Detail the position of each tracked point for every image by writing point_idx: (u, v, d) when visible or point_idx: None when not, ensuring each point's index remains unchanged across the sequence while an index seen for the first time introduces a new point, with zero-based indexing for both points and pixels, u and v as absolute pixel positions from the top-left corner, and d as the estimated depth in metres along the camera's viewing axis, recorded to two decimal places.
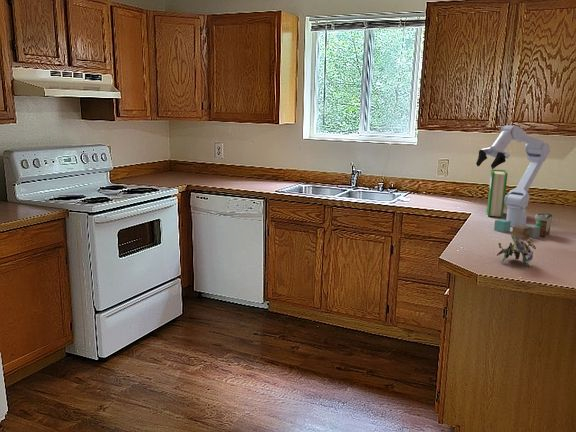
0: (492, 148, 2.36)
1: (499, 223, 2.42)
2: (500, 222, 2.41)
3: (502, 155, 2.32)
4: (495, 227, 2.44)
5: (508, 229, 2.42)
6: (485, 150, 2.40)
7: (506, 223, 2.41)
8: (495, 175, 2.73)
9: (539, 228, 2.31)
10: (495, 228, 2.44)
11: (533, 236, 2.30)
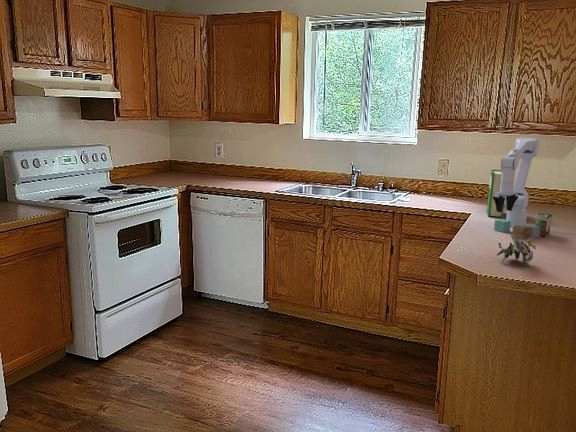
0: None
1: (499, 223, 2.42)
2: (500, 222, 2.41)
3: None
4: (495, 227, 2.44)
5: (508, 229, 2.42)
6: (502, 194, 2.37)
7: (506, 223, 2.41)
8: (495, 175, 2.73)
9: (539, 228, 2.31)
10: (495, 228, 2.44)
11: (533, 236, 2.30)
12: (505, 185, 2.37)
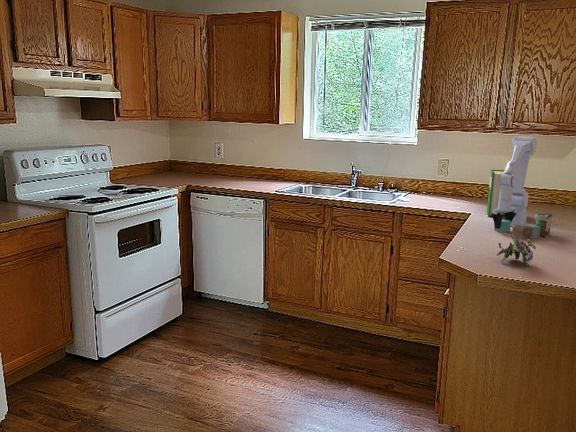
0: None
1: None
2: None
3: None
4: None
5: (508, 229, 2.42)
6: None
7: (506, 223, 2.41)
8: (495, 175, 2.73)
9: (539, 228, 2.31)
10: (495, 228, 2.44)
11: (533, 236, 2.30)
12: (503, 202, 2.39)
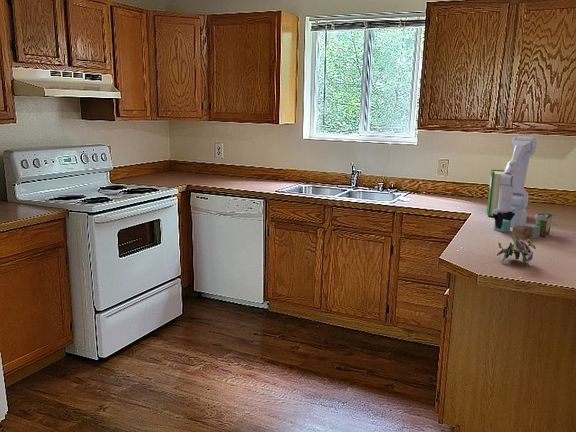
0: None
1: None
2: None
3: None
4: (495, 227, 2.44)
5: (508, 229, 2.42)
6: None
7: (506, 223, 2.41)
8: (495, 175, 2.73)
9: (539, 228, 2.31)
10: (495, 228, 2.44)
11: (533, 236, 2.30)
12: (503, 202, 2.39)
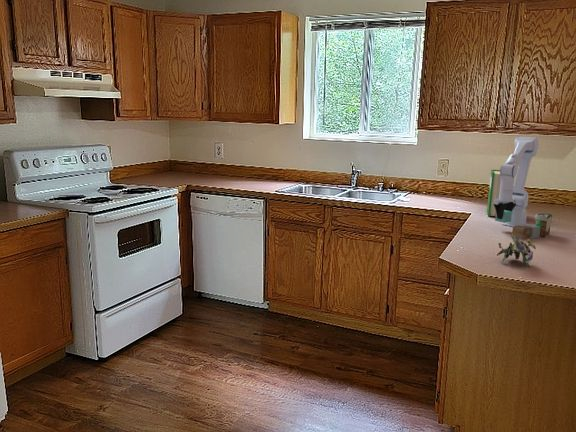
0: (511, 201, 2.39)
1: None
2: None
3: None
4: (496, 217, 2.43)
5: (509, 219, 2.42)
6: (501, 201, 2.38)
7: (507, 213, 2.40)
8: (495, 175, 2.73)
9: (539, 228, 2.31)
10: (496, 218, 2.43)
11: (533, 236, 2.30)
12: (504, 192, 2.38)
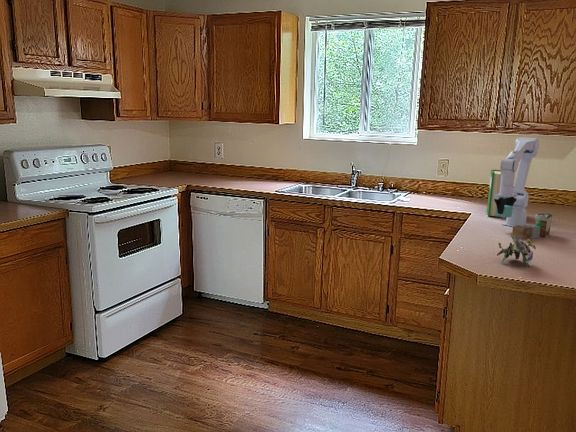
0: None
1: None
2: None
3: None
4: (497, 212, 2.43)
5: (510, 214, 2.41)
6: (502, 196, 2.38)
7: (508, 208, 2.39)
8: (495, 175, 2.73)
9: (539, 228, 2.31)
10: (497, 213, 2.43)
11: (533, 236, 2.30)
12: (505, 187, 2.38)
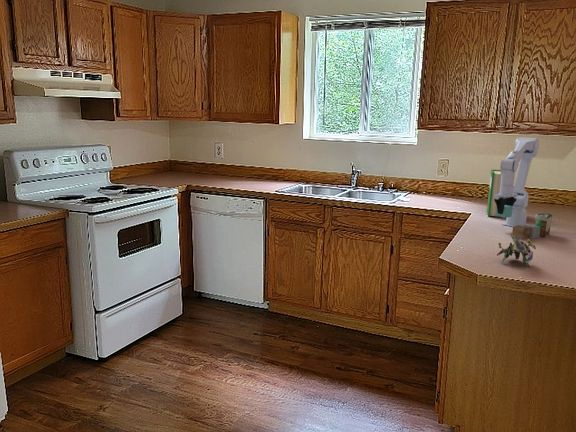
0: None
1: None
2: None
3: None
4: (497, 212, 2.43)
5: (510, 214, 2.41)
6: (502, 196, 2.38)
7: (508, 208, 2.39)
8: (495, 175, 2.73)
9: (539, 228, 2.31)
10: (497, 213, 2.43)
11: (533, 236, 2.30)
12: (505, 187, 2.38)
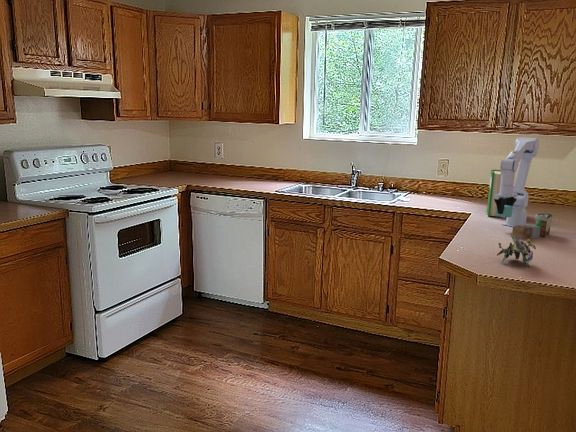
0: None
1: None
2: None
3: None
4: (497, 212, 2.43)
5: (510, 214, 2.41)
6: (502, 196, 2.38)
7: (508, 208, 2.39)
8: (495, 175, 2.73)
9: (539, 228, 2.31)
10: (497, 213, 2.43)
11: (533, 236, 2.30)
12: (505, 187, 2.38)
